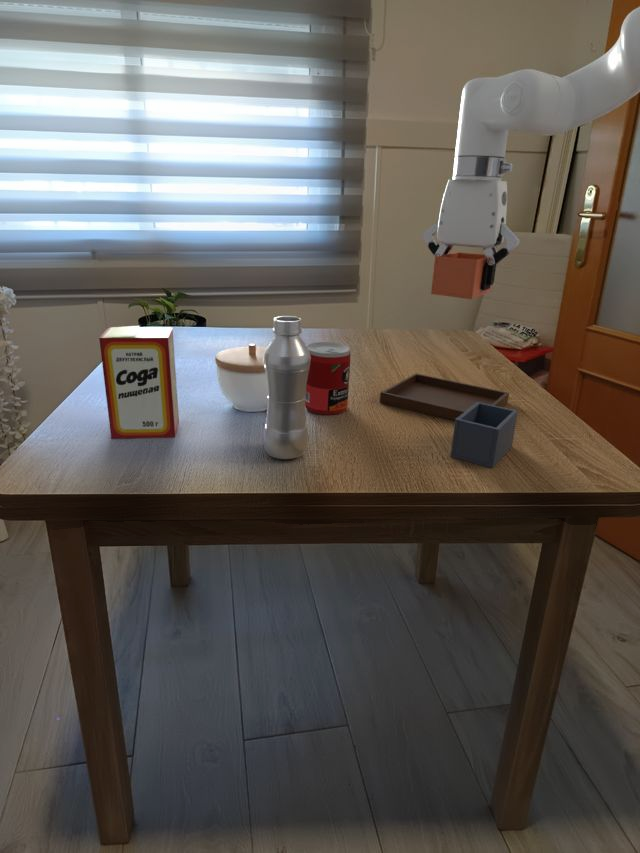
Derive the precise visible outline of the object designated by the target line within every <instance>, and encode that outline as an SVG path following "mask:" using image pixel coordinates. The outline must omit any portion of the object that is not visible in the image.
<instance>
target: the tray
mask: <svg viewBox="0 0 640 853" xmlns="http://www.w3.org/2000/svg"><path fill="white" fill-rule="evenodd" d="M509 397H510V392H507V391H502V390H498V389H493V388H487V387H483V386H478V385H475V384H474V385H473V384H468V383H464V382H461V381H460V382H459V381H455V380H449V379H446V378H440V377H435V376H430V375H426V374H422V373H416V372H415V373H413V374H411V375H410V376H408V377H406V378H404V379H402V380H400V381H399V382H397V383H395V384H393V385H391V386H390V387H388V388H385V389H384V390H382V391H380V392H379V403H380V404H385V405H389V406H393V407H396V408H400V409H405V410H409V411H412V412H416V413H421V414H425V415H429V416H432V417H438V418H442V419H444V420H445V419H446V420H450V421H454V422H455V419H456V418H458V417H459V416H460V415H461V414H463V413H464V412H465V411H466V410H468V409H469V408H470V407H471V406H473V405H474V404H475V403H476V402H480V403H485V404H490V405H494V406H499V407H503V408H504V407H505V406H506V405H507V404H508V402H509Z"/></svg>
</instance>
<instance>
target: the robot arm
mask: <svg viewBox="0 0 640 853" xmlns="http://www.w3.org/2000/svg"><path fill="white" fill-rule="evenodd" d="M639 93H640V6H638V7H636V8H634V9H633V10H631V11H630V12H629V13H628V14H627V15H626V17H625V18H624V20H623V22H622V24H621V27H620V34H619V37H618V39H617V40H616V42H615V43H614V45H613V46H612V47H611V48H609V50H608V51H607V52H605V53H604V54H603V55H601V56H600V57H598V58H597V59H595V60H593V61H592V62H590V63H588V64H587V65H585V66H583V67H581V68H579V69H576V70H575V71H573V72H571V73H569V74H567V75H564V76H562V77H561V76H559V75H554V74H551V73H548V72H544V71H540V70H537V69H534V68H533V69H531V68H526V69H525V68H524V69H519V70H516V71H513V72H510V73H507V74H504V75H500V76H498V77H495V76H493V77H492V76H489V77H487V76H486V77H484V76H483V77H476V78H473V79H470V80H468V81H467V82H466V83H465V84H464V85H463V88H462V91H461V99H460V108H459V115H458V116H459V117H458V125H457V134H456V143H455V151H454V162H453V168H452V170H453V171H452V176H451V177H452V178H451V179H447V183H446V186H445V190H444V193H443V195H442V196H443V197H442V200H441V201H442V202H441V204H440V209H439V210H440V211H439V216H438V220H437V221H436V222H435V223H433V224H432V225H431V226H429V227H428V228H427V229H426V230H424V231H423V232H422V234H421V237H422V238H423V240H424V242H425V244H426V245H427V248H428V250H429V251H430V252H431V253H432V255H433V257H434V259H435V256H440V255H445V254H450V253H451V250H452V249H453V247H454V246H457V247H458V246H459V247H467V248H469V247H470V248H481V249H482V251H483V254H484V255H485V257H486V260H487V261H486V265H484V267H483V274H482V281H481V290H487V289H489V288H490V286H491V285H494V282H495V277H496V270H497V265H498V264H499V263H500V262H501V261H502V260H504V259H505V258H506V257H507V256H508V255H509V254H510V253H511V252H513V251H514V249H516V248H517V246H518V245H519V244H520V242H521V240H520V239H519V237H518V236H517V235H516V234H515V233H514V231H512V230H511V229H510V228H509V226H507V211H508V182H507V181H506V180H502V178H504V176H505V174H507V173H512V172H513V168H514V164H513V162H508V161H507V160H506V158H505V157H506V151H507V144H508V137H509V131H513V132H514V131H515V132H519V133H524V134H533V135H539V136H546V137H549V136H557V135H561V134H563V133H566V132H569V131H572V130H574V129H576V128H578V127H581V126H584V125H585V124H588V123H590V122H592V121H595V120H597V119H599V118H601V117H603V116H605V115H607V114H609V113H611V112H612V111H614V110H616V109H618V108H619V107H621V106H622V105H623V104H625V103H626V102H628V101H629V100H631V99H632V98H634V97H635V96H637V95H638V94H639ZM435 235H436V239H435ZM436 240H437V241H436ZM504 240H505V242H506V243H505V245H503V247H501V248H500V249H499V250H498V249H497V246H500V245H502V244H503V242H504ZM439 243H440V244H439Z"/></svg>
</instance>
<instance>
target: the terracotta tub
mask: <svg viewBox="0 0 640 853" xmlns="http://www.w3.org/2000/svg"><path fill="white" fill-rule="evenodd" d="M486 261H487V260H486V257H485V254H484V253H472V252H462V251H456V252H449V254H445V255H440V256H435V258H434V261H433V271H432V281H431V289H430V290H431V292H430V294H431V295H435V296H443V297H451V298H459V299H465V300H466V299H467V300H473V299H476V298H479V297H481V296H484V295H487V294H489V293H491V292H492V291H493V285H494V284H493V285H491V286H490V288H489V289H487V290H481V281H482V274H483V267H484V265H486Z"/></svg>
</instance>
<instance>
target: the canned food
mask: <svg viewBox="0 0 640 853" xmlns="http://www.w3.org/2000/svg"><path fill="white" fill-rule="evenodd" d="M306 346H307V348H308V350H309V352H310V356H311V360H310V367H309V373H308V379H307V386H306V394H305V396H306V398H305V410H308V411H309V412H311V413H313V414H317V415H323V416H333V415H338V414H342V413H345V411H346V410H347V408H348V405H349V388H350V371H351V354H352V352H351V348H350V347H349V346H348V345H346V344H343V343H338V342H331V341H330V342H329V341H319V342H311V343H309V344H306Z"/></svg>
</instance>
